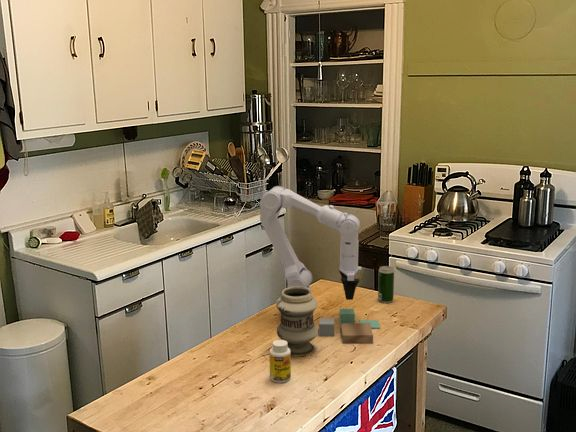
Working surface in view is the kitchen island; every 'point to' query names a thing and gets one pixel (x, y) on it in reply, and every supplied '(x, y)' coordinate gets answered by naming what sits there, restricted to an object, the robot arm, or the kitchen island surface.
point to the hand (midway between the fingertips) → (348, 294)
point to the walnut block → (356, 333)
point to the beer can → (386, 284)
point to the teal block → (347, 316)
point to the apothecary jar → (297, 319)
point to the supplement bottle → (280, 361)
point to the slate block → (326, 327)
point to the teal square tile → (371, 323)
